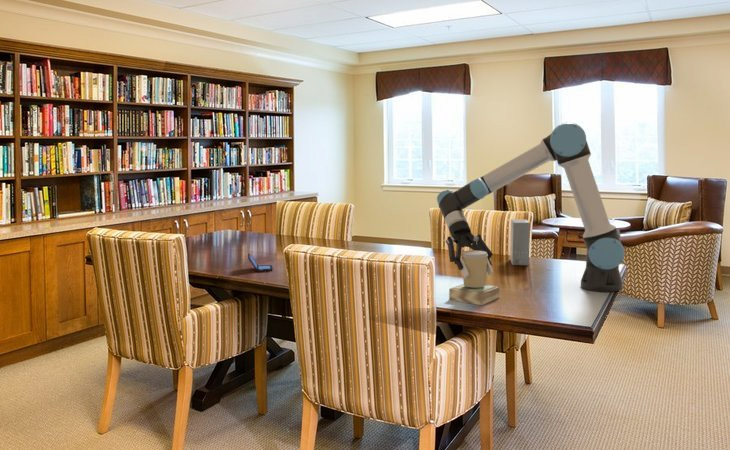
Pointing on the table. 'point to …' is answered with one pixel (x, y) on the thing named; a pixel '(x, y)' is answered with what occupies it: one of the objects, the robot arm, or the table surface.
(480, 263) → the coffee cup
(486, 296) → the birch riser
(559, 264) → the table surface
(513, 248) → the hard drive box
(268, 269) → the handheld game console
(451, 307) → the table surface
